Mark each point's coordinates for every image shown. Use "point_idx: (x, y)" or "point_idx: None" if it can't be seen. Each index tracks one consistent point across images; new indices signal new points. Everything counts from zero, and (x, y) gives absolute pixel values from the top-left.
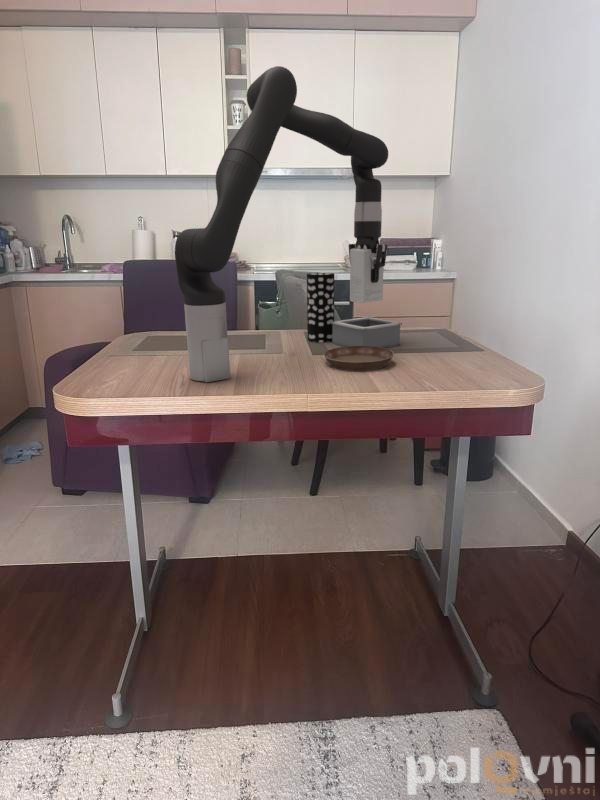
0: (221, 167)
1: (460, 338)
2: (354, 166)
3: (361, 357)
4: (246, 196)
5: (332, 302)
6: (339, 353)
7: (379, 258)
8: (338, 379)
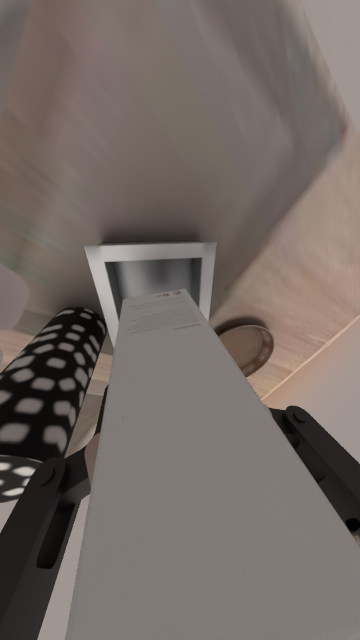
0: None
1: None
2: None
3: (222, 340)
4: None
5: (79, 369)
6: None
7: (323, 473)
8: (253, 380)
